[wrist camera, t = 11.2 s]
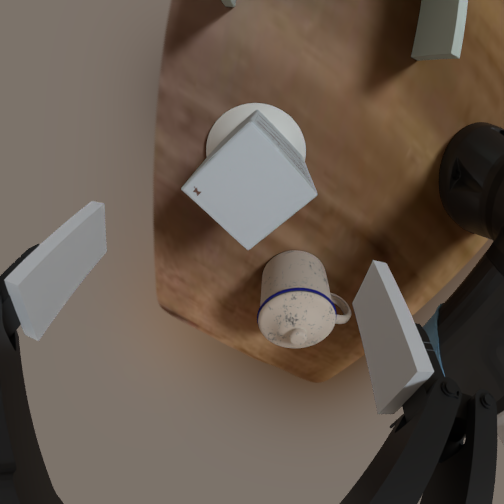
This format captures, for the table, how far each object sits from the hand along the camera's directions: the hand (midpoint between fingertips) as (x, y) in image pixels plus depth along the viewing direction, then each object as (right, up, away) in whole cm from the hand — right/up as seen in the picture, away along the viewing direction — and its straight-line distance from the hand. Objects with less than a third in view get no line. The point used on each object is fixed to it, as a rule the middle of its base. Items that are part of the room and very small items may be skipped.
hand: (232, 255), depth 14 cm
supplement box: (+1, +11, +18) cm, 21 cm away
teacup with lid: (+8, -3, +27) cm, 29 cm away
